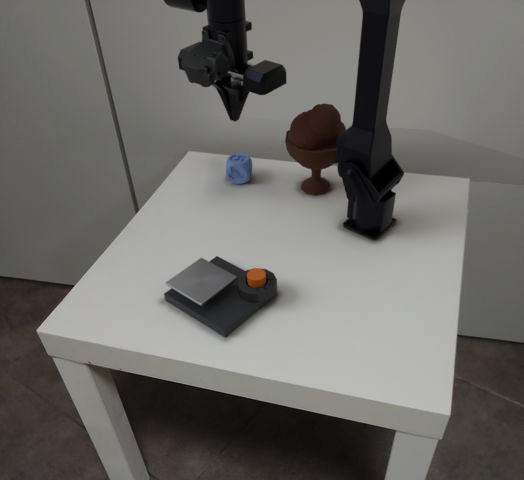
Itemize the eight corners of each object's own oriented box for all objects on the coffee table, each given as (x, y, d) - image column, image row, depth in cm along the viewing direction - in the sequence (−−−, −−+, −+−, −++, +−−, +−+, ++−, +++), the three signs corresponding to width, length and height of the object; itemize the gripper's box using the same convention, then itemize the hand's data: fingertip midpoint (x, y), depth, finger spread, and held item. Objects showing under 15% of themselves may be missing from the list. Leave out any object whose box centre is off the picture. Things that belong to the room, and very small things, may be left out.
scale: (284, 294, 79) (284, 278, 76) (229, 340, 73) (227, 324, 71) (221, 260, 85) (219, 244, 82) (165, 300, 79) (161, 285, 77)
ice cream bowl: (345, 171, 101) (351, 88, 90) (345, 205, 93) (352, 118, 82) (288, 170, 102) (287, 88, 91) (284, 203, 94) (282, 118, 83)
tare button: (269, 281, 77) (269, 273, 75) (257, 291, 75) (257, 282, 74) (256, 274, 78) (255, 265, 77) (244, 283, 77) (243, 275, 75)
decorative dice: (247, 185, 99) (246, 164, 96) (226, 183, 100) (224, 163, 97) (253, 173, 102) (251, 153, 99) (232, 172, 102) (230, 152, 99)
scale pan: (237, 278, 77) (237, 276, 76) (201, 306, 73) (201, 304, 73) (201, 259, 80) (201, 257, 80) (165, 284, 77) (165, 282, 76)
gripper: (144, 20, 81) (162, 123, 93) (236, 46, 73) (244, 155, 84) (196, 1, 87) (208, 100, 98) (288, 22, 78) (288, 128, 90)
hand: (234, 120), depth 92 cm, fingers closed
